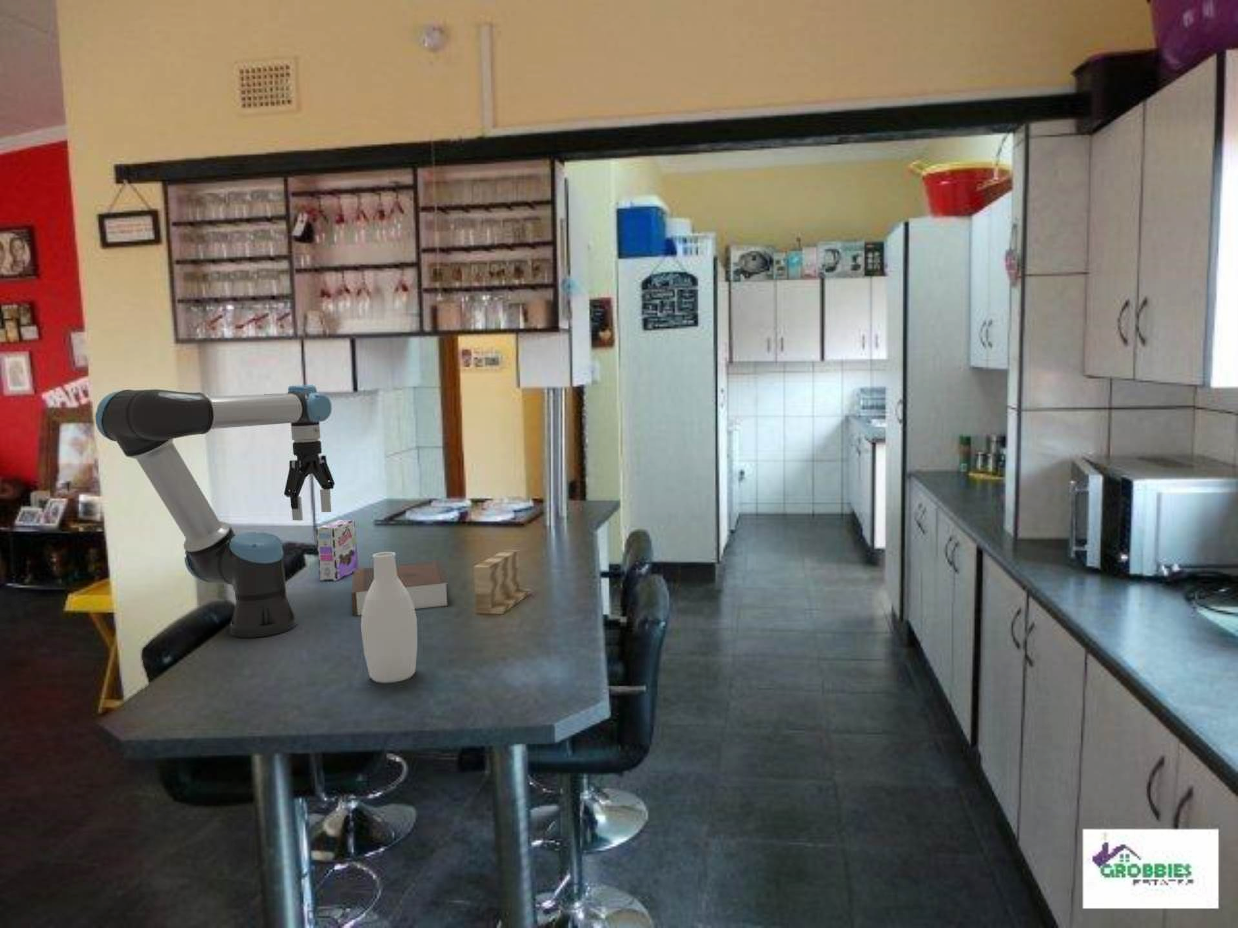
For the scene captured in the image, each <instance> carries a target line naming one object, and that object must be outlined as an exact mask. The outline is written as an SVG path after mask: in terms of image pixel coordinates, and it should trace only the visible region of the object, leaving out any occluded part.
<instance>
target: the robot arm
mask: <svg viewBox="0 0 1238 928" xmlns="http://www.w3.org/2000/svg"><path fill="white" fill-rule="evenodd" d="M331 413H332V402H331V400H330V398H329V397H328V396H327V395H326V394H325V393H321V392H318V391H317V387H316V385H313V384H300V385H299V384H297V385H289V386H288V389H287V392H286V393H285V392H284V393H263V394H245V395H242V394H241V395H220V396H219V395H218V396H217V395H215V396H214V395H213V396H209V395H207V394H205V393H204V392H187V391H175V390H168V389H167V390H165V389H156V388H155V389H139V390H138V389H137V390H133V389H129V388H128V389H121V390H117V391H113V392H111V393H109V394H107V395H105V396H104V397H103V399H101V400H100V402H99V403H98V405H97V407H96V412H95V416H94V417H95V418H94V419H95V425H96V428H97V429H98V431H99V433H100V435H102V436H103V437H104V438H106V439H108V440H109V441H111V442H112V441H113V442H116V443H117V445H118V446H119V448H120V449H121V451H122V452H123V454H124V456H125V457H126V458H131V459H135V460H136V461H137V462H138V464H139V466H140V467H141V469H142V471H143V472H144V474H145V475H146V478H148V480H149V482H150V483H151V486H152V487H153V488H154V489H155V491H156V493H157V495H158V497H159V498H160V500H161V501H162V503H163V504H164V506H165V507H166V509H167V511H168V512H169V514H170V516H171V517H172V518H173V520H174V521H175V523H176V525H177V527H178V528H179V530H180V531H181V533H182V535H183V536H184V537H185V540H184V542H183V548H184V551H185V552H184V554H185V557H184V564H185V567H186V569H187V570H188V572H189V573H190V575H192V576H193V577H195V578H196V579H197V580H200V581H203V582H206V583H210V584H223V585H231V586H234V596H235V597H234V598H235V603H234V608H233V612H232V615H231V621H230V625H229V626H230V627H229V628H230V629H229V630H230V635H232V636H233V637H237V638H248V639H250V638H262V637H269V636H273V635H277V634H281V633H285V632H288V631H290V630H292V629H294V628H295V627H296V625H297V616H296V613H295V612H294V610H293V607H292V605H291V602H290V600H289V597H288V596H287V588H286V575H285V573H286V572H285V560H284V558H285V557H284V550H283V546H282V541H281V539H280V537H278V536H277V535H275V534H272V533H267V532H256V531H255V532H251V531H250V532H244V533H239V534H235V531H233V529H232V527H231V525H230V524H229V523H228V522H225V521H221V520H220V519H219V518H218V517H217V514H216V513H215V512H214V509H213V508H212V506H211V504H210V502H209V501H208V499H207V498H206V496H205V495H204V493H203V491H202V489H201V487H200V486H199V484H198V482H197V481H196V480H195V477H194V476H193V474H192V472H191V471H190V470H189V467H188V465H187V464H186V463H185V461H184V459H183V457H182V456H181V454H180V453H179V451H178V449H177V448H176V446H175V443H174V442H173V441H174V439H177V438H178V439H179V438H183V437H189V436H196V435H205V434H207V433H209V432H211V430H215V429H228V428H241V427H243V428H244V427H256V426H258V427H259V426H267V425H268V426H270V425H281V424H290V429H291V440H292V441H293V442H292V454H293V455H294V456H295V457H296V459H294V460H293V459H292V460H291V459H290V460H289V465H288V466H289V469H288V474H287V478H286V479H287V480H286V482H285V486H284V487H285V488H284V492H283V494H284V496H286V498H290V499H289V501H290V508H291V516H292V517H291V518H292V521H299V522H300V521H304V519H303V518H304V517H303V505H302V496H299V495H300V494H301V491H302V488H303V486H304V483H305V480H306V479H307V477H308V476H309V475H313V477H314V478H315V480H316V481H317V483H318V484H319V486H320V488H321V489H319V495H320V496H319V497H320V507H321V509H320V510H321V513H331V512H332V505H331V504H332V503H331V490H332V489H333V490H334V488H335V487H334V486H335V483H336V482H335V481H334V478H333V475H332V473H331V470H330V468H329V465H328V463H327V456H326V455H325V454H324V455H323V454H322V441H320V438H321V428H320V422H325V421H327V419H329V417H330V415H331ZM321 454H322V455H321Z"/></svg>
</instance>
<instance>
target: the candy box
mask: <svg viewBox="0 0 1238 928" xmlns="http://www.w3.org/2000/svg"><path fill="white" fill-rule="evenodd" d="M315 530H316V531H315V532H316V545H317V557H318V558H317V559H318V571H319V581H323V582H325V581H328V582H329V581H330V582H336V581H339V580H342V579H344V578H345V577H348V576H349V575H352V574H354V569H359V560H358V548H357V547H358V546H357V535H356V524H355V520H354V519H337V520H336V521H333V522H330V523H326V524H324V525H321V526H317V527H316V528H315Z"/></svg>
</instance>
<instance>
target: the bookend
mask: <svg viewBox="0 0 1238 928" xmlns="http://www.w3.org/2000/svg"><path fill="white" fill-rule="evenodd" d="M519 556H520V555H519V550H518V549H516V550H515V549H504V550H502V551H500V552H498V553H497V554H494V555H492V556H491V557H489V558H487V559H485V560H483V561H482V562H479V563H478V564H476V565H475V566H473V579H474V596H475V598H474V599H475V607H476V608H475V610H476V614H486V615H488V614H490V615H503V614H505V613H506V612H507V611H509V610H510V609H512V608H513V607H514V606H515V605H517V604H518V603H520V602H521V601H522V600H524V599H526V597H529V595H531V591H532V590H531V588H521V575H520V560H519V559H520V557H519Z"/></svg>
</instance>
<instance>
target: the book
mask: <svg viewBox="0 0 1238 928" xmlns="http://www.w3.org/2000/svg"><path fill="white" fill-rule="evenodd" d="M396 570H397V576H398V578H399V579H400V581H401V582H402V584H403V585H404V587H405V588H406V590H407V591H408V593H409V595H410V598H411V600H412V603H413V605H414V609H416V610H417V609H425V608H435V607H443V606H448V597H447V585H448V583H449V582H448V579H447V575H446V572H445V569H444V566H443V564H442V561H441V560H437V561H428V562H427V561H426V562H418V563H408V564H396ZM373 580H374V567H367V568H366V567H364V568H358V569H354V573H353V577H352V585H351V586H352V587H351V601H352V605H351V606H352V614H353V615H352V616H354V617H355V616H356V617H357V616H360V615H361V616H362V610H363V606H364V601H365V597H366V595H367V593H368V591H369V588H370V586H371V584H372V582H373Z"/></svg>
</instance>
